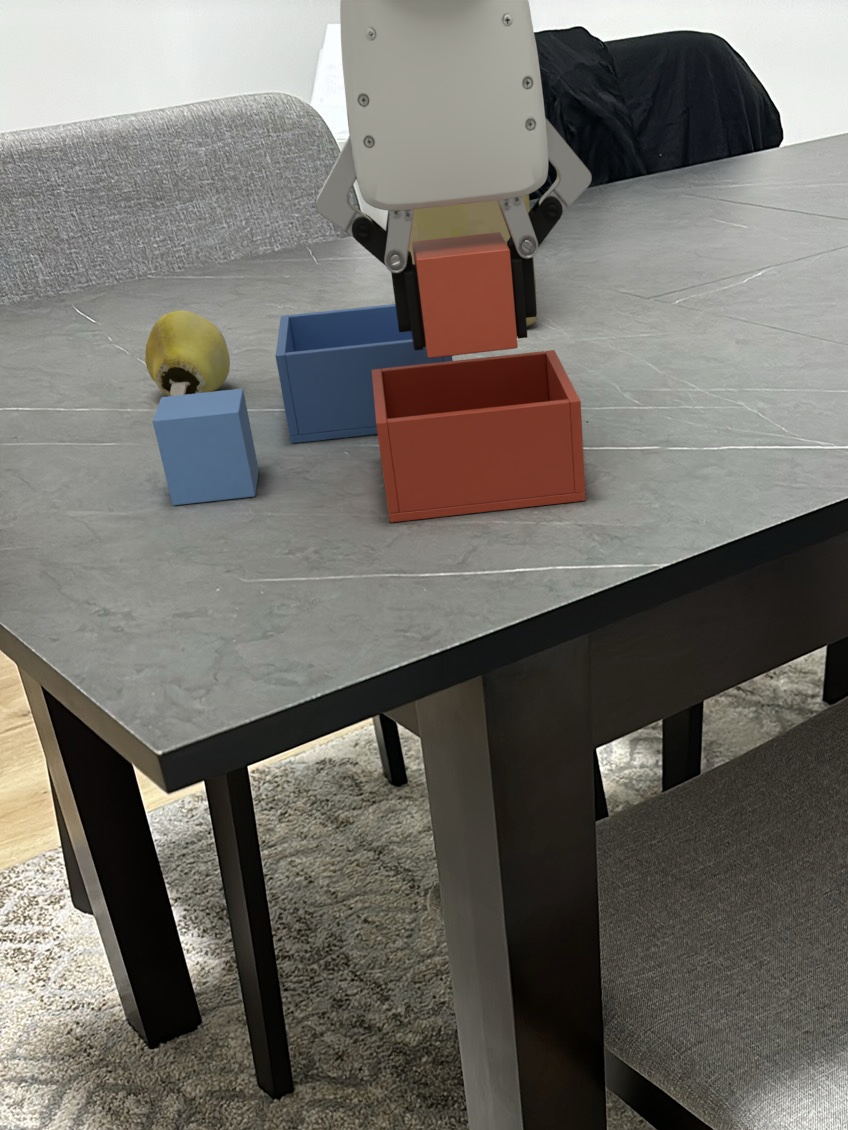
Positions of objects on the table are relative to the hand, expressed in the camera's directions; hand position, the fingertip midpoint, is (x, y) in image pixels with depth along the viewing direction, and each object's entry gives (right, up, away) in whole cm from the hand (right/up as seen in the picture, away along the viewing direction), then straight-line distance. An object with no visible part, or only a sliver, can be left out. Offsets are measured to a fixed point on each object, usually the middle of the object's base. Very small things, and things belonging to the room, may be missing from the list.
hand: (468, 334), depth 78 cm
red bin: (0, -6, +5) cm, 8 cm away
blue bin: (-8, +3, +18) cm, 20 cm away
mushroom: (-21, +6, +24) cm, 33 cm away
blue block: (-16, -6, +7) cm, 19 cm away
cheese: (-2, +21, +42) cm, 47 cm away
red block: (0, 0, 0) cm, 0 cm away
